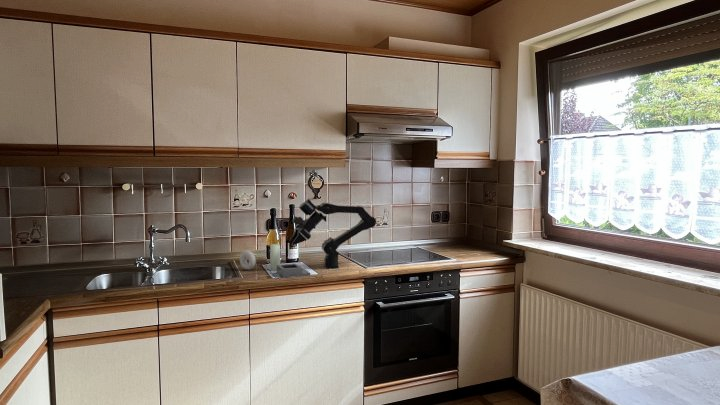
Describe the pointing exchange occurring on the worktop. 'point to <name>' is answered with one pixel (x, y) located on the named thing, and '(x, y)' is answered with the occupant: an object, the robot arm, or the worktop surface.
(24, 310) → the worktop surface
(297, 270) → the socket
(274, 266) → the pale green cylinder
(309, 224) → the robot arm
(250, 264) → the donut
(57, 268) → the worktop surface
